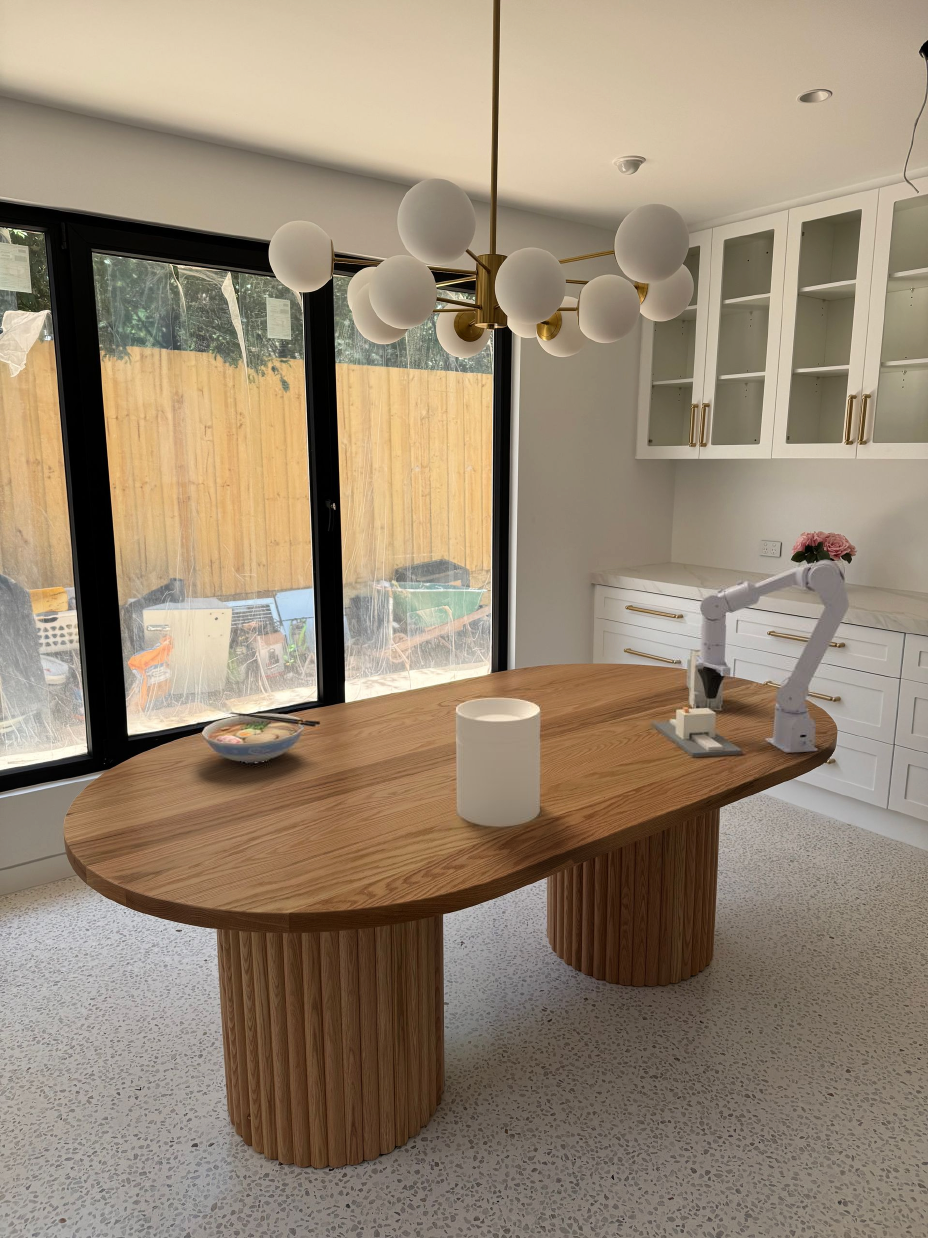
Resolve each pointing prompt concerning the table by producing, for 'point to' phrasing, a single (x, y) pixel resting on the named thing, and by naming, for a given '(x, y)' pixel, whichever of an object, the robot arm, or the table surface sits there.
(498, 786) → the canister
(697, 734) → the block
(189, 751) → the table surface
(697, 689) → the circuit breaker
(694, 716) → the block
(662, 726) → the din board
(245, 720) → the ramen bowl
